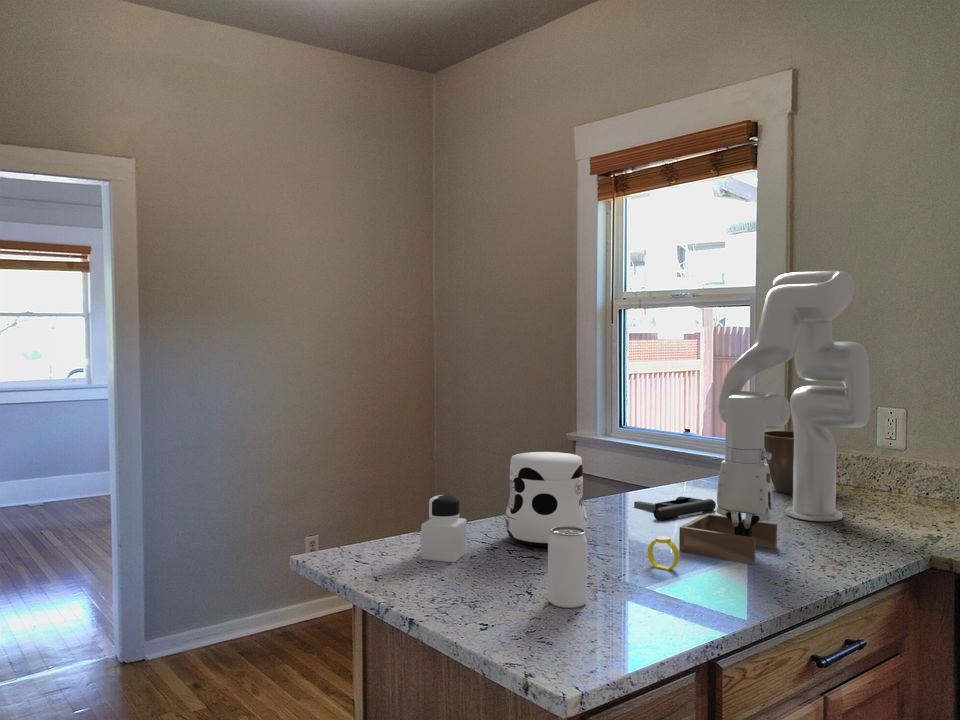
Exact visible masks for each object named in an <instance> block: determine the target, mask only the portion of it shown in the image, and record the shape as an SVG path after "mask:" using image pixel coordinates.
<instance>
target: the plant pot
mask: <svg viewBox="0 0 960 720" xmlns="http://www.w3.org/2000/svg"><path fill="white" fill-rule="evenodd" d="M764 448H765V451H766V452H768V453H771V454H772V457H771V459H767V460H765V462H766V464H768V465H769V470H770V476H771V483H772V484H773V487H774V490H775V492H779V493H783V494H791V495H793V462H794V430H791V431H790V430H772V431H771V430H769V431H765V437H764Z"/></svg>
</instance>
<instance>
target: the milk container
mask: <svg viewBox="0 0 960 720" xmlns="http://www.w3.org/2000/svg"><path fill="white" fill-rule="evenodd" d="M583 470H584V469H583V460H582V456H580V455H577V454H575V453H569V452H568V453H567V452H558V451H555V452H554V451H530V452H522V453H517V454H514V455H512V456H511V457H510V465H509V499H508V503H507V506H506V511H505V521H504V522H505V527H506V532H507V534H508V536H509V537H510V538H511V539H513V540H514V541H516V542H519V543H520V544H524V545H530V546H535V547H547V548H548V539H549V536H550V534H551V529H553V528H555V527H564V526H568V527H577V528H581V529H583V530H584V531H585V533H584V534H586V532H587V531H586V530H587V523H588V517H587V510H586V507H585V503H584V497H583V492H584V491H583V489H584V488H583V487H584V477H583Z"/></svg>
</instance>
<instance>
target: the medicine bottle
mask: <svg viewBox="0 0 960 720" xmlns="http://www.w3.org/2000/svg"><path fill="white" fill-rule="evenodd" d="M467 520H468V519H466V518H461V517H460V499H459V498H458V497H456V496H454V495H449V494H439V495H434V496H433V497H431V498H430V499H429V501H428V520H426V521H425V522H423V523H421V525H420V526H421V527H420V530H421V531H420V532H421V534H420V535H421V536H420V539H421V541H420V547H421V549H420V550H421V551H420V552H421V553H420V554H421V555H420V556H421V557H420V558H421V560H423V561H434V562H444V563H452V564H453V563H456V562H457V561H458V560H459V559H461V558H462V557H464V556H465V555H466V554H467V552H468V549H467V548H468V547H467V546H468V545H467V544H468V540H467V539H468V537H467V532H468V531H467V530H468V529H467V528H468V521H467Z"/></svg>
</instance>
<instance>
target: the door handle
mask: <svg viewBox="0 0 960 720" xmlns="http://www.w3.org/2000/svg"><path fill="white" fill-rule="evenodd" d="M633 503H634V506H633V507H635V508H637V509H641V510H646V511H649V512H653V517H654V518H655V519H656V520H659V521H665V520H670V519H671V520H673V519H675V518H676V517H677V518H676V519H682V518H681V517H684V518H686V517H685V516H689V517H691V516H690V515H694V516H696V515H695V514H699V515H703V513H708V512H712V511H714V510H715V509H716V508H717V507H716V506H717V502H716V501H714V500H713V499H711V498H707V499H701V498H694V497H690V496H689V497H687V496H678V497H677V498H675V499H673V500H667V501H661V502H656V503H655V502H654V503H653V502H647V501H642V500H641V501H639V500H637V501H634V502H633Z"/></svg>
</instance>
